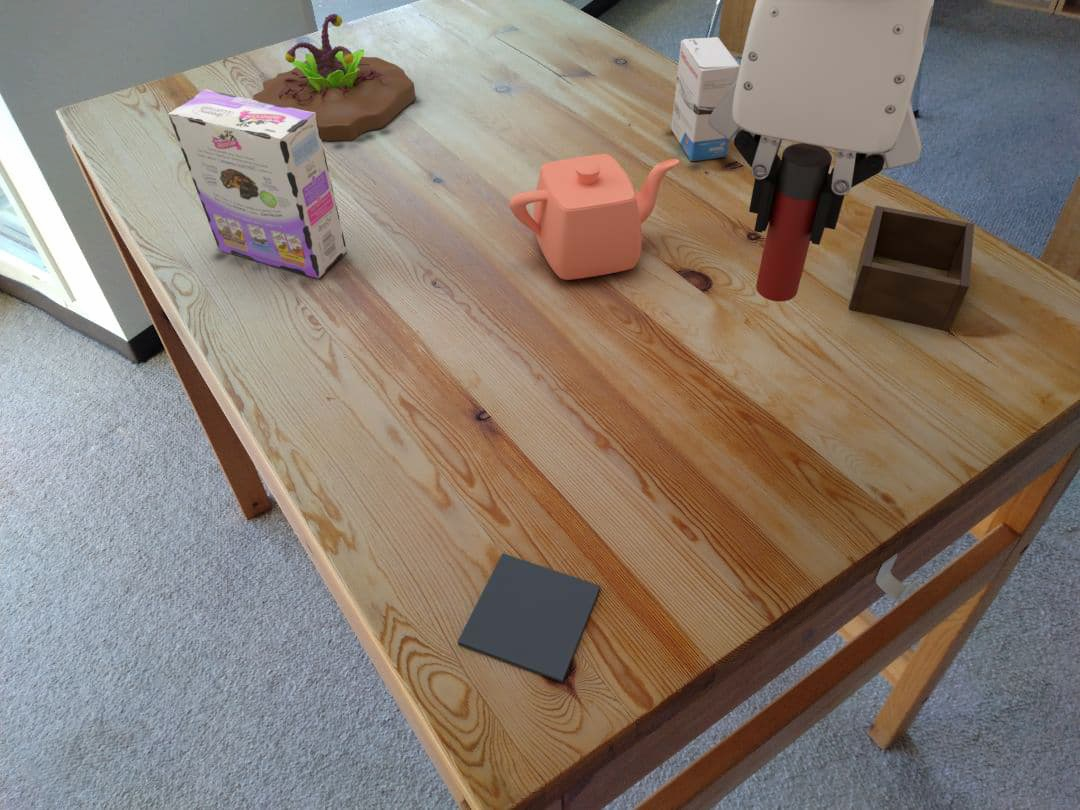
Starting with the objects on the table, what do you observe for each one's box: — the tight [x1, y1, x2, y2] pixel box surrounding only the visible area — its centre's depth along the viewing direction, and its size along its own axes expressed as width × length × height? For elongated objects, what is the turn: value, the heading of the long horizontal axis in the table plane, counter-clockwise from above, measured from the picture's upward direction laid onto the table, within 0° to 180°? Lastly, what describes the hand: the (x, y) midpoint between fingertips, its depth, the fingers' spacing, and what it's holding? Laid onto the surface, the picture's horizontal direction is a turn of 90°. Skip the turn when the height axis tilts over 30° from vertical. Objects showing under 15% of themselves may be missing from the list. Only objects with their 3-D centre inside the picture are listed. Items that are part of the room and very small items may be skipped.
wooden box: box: [848, 205, 975, 332], centre depth 85 cm, size 10×11×6 cm
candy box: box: [168, 88, 348, 279], centre depth 87 cm, size 14×6×16 cm, turn 65°
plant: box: [252, 13, 417, 142], centre depth 113 cm, size 20×20×11 cm
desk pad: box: [457, 553, 601, 683], centre depth 62 cm, size 8×8×1 cm
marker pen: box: [755, 142, 833, 302], centre depth 59 cm, size 3×3×11 cm
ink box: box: [670, 36, 740, 162], centre depth 103 cm, size 8×5×12 cm, turn 11°
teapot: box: [509, 153, 680, 281], centre depth 89 cm, size 11×18×10 cm, turn 104°
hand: (790, 225), depth 59 cm, fingers closed on marker pen, 3 cm apart
